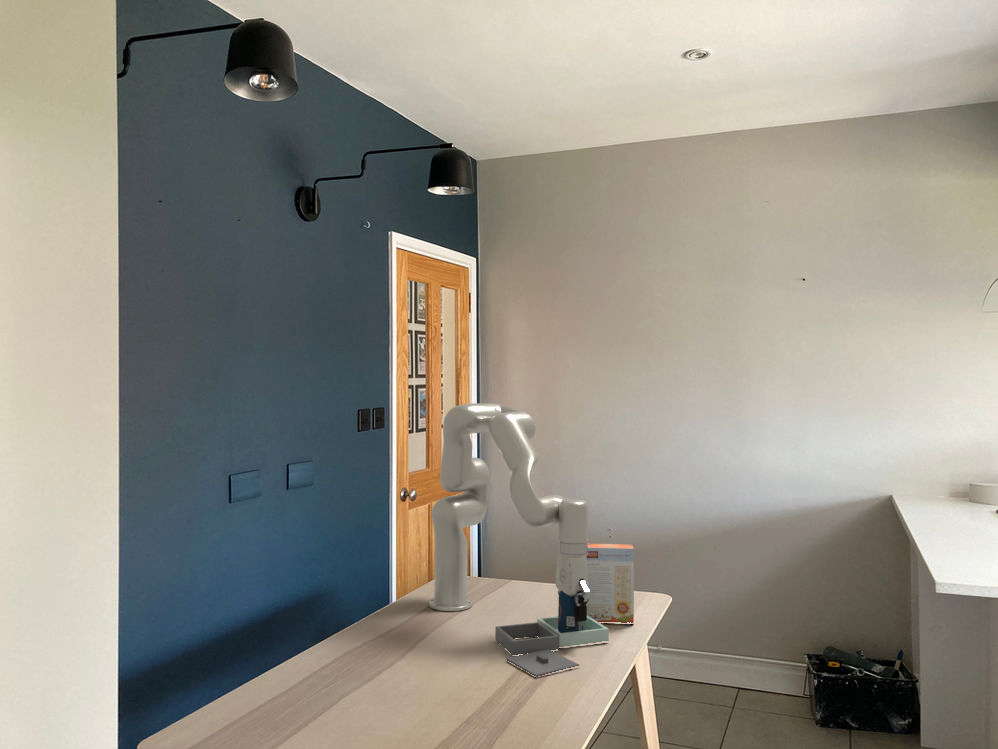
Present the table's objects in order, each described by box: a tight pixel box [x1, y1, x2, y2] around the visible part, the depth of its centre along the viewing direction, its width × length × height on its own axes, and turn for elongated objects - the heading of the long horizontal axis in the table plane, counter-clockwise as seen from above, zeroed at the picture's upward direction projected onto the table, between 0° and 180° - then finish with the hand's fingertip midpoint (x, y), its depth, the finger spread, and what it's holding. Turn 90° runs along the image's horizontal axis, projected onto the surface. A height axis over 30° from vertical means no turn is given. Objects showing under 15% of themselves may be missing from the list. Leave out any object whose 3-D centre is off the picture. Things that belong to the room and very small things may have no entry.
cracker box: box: [586, 543, 635, 623], centre depth 216 cm, size 14×6×21 cm, turn 84°
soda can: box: [557, 591, 585, 633], centre depth 202 cm, size 7×7×12 cm
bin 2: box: [536, 615, 610, 647], centre depth 202 cm, size 14×14×4 cm
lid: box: [505, 649, 580, 677], centre depth 183 cm, size 12×12×2 cm
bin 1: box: [494, 621, 560, 655], centre depth 195 cm, size 12×12×4 cm
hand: (572, 615), depth 202 cm, fingers open, 8 cm apart
